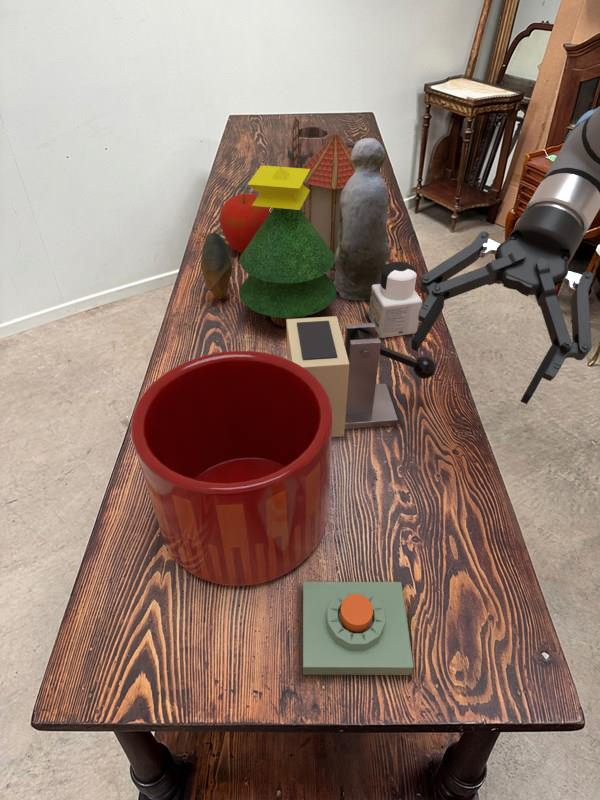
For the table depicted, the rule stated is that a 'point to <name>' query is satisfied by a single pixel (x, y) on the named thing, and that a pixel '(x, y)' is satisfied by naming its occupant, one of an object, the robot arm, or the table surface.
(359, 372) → the metal lever stand
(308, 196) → the miniature windmill
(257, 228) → the apple
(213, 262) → the decorative stone
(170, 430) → the planter
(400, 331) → the container
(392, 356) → the toaster lever
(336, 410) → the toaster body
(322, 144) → the tankard
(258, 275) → the decorative tree
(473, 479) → the table surface
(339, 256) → the sculpture
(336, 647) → the control block
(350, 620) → the button
